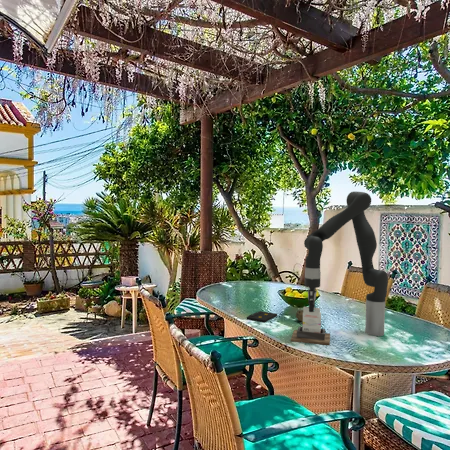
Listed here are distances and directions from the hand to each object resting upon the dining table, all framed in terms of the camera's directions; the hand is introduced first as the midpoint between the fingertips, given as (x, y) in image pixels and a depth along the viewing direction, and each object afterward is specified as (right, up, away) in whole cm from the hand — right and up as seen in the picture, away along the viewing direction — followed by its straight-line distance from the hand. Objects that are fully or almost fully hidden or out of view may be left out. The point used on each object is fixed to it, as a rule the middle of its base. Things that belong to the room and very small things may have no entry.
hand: (311, 309), depth 191 cm
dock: (0, -14, 0) cm, 14 cm away
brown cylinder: (+4, -14, +27) cm, 31 cm away
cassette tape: (-21, -14, +37) cm, 45 cm away
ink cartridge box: (0, -13, 0) cm, 13 cm away
